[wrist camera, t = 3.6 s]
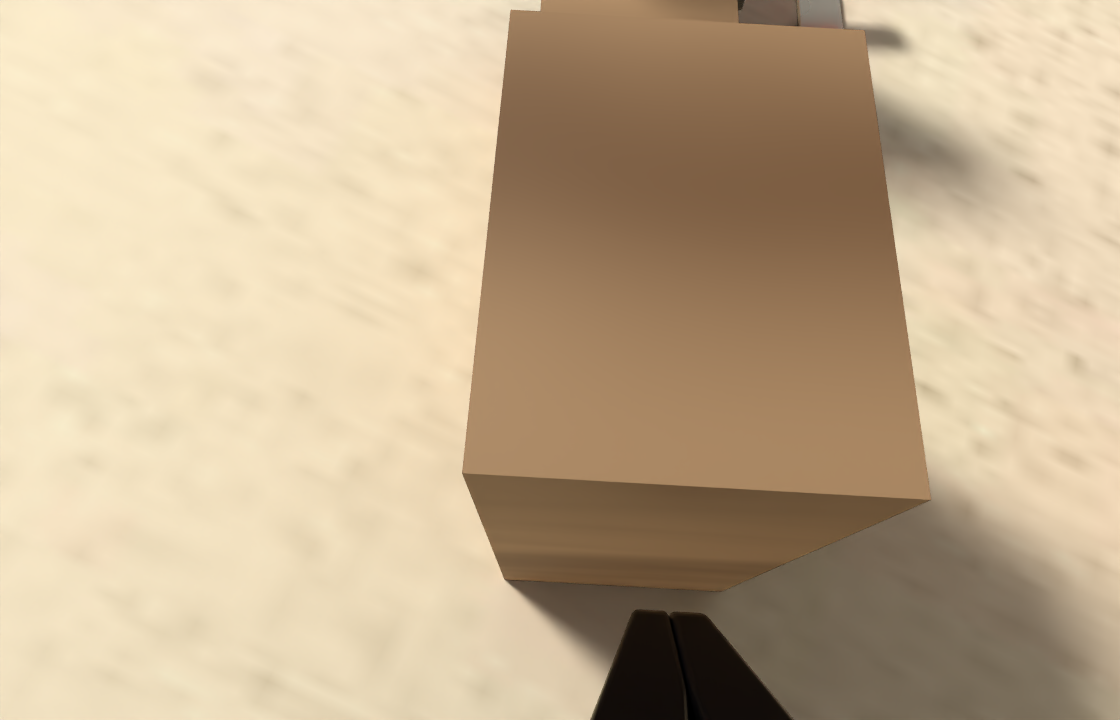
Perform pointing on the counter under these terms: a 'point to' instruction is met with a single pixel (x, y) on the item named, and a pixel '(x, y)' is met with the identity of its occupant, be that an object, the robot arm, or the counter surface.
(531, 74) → the walnut block
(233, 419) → the counter surface
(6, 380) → the counter surface
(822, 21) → the gauge housing
